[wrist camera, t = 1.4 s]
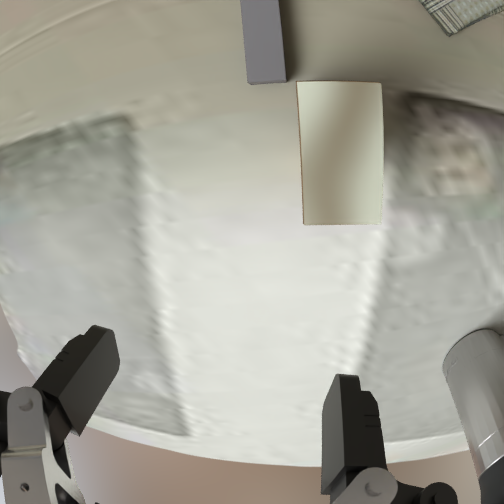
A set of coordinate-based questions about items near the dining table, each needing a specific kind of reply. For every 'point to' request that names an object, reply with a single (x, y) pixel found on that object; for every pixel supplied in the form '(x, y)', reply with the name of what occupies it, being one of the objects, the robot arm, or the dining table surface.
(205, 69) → the dining table surface
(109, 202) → the dining table surface
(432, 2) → the dish towel
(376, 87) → the walnut slab
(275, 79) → the rail
